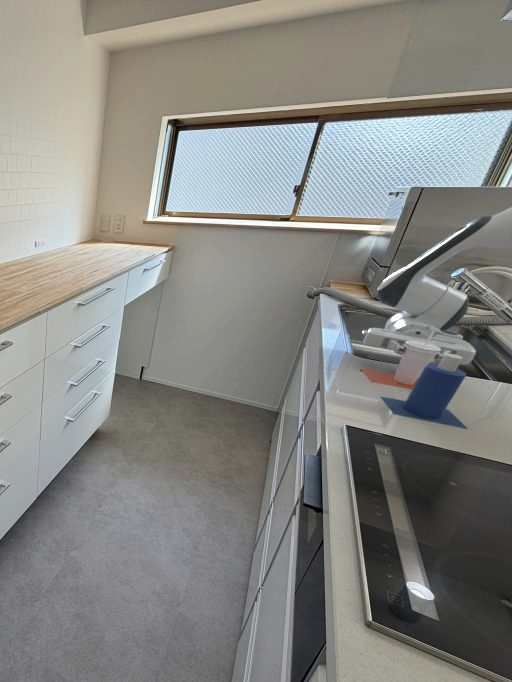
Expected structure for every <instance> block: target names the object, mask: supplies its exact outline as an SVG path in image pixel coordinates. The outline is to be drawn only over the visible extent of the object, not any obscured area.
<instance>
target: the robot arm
mask: <svg viewBox="0 0 512 682" xmlns="http://www.w3.org/2000/svg"><path fill="white" fill-rule="evenodd" d="M472 249H498V250H507V251H508V250H509V251H512V206H511V207H509V208H507V209H505V210H503V211H500V212H498V213H496V214H493V215H484V216H480V217H477V218H476V219H473V220H471V221H470V222H468V223H466V224H464V225H463V226H462V227H460V228H459V229H457V230H456V231H454V232H453V233H451V234H450V235H448V236H447V237H445V238H444V239H442V240H441V241H440V242H438V243H437V244H435V245H433V247H431V248H430V249H428V250H427V251H425V252H424V253H423V254H421V255H420V256H418V257H416V258H415V259H414V260H413V261H411V262H409V263H408V264H406V265H405V266H403V267H402V268H400V269H399V270H397V271H394V272H393V273H391V274H390V275H389V276H387V277H386V278H385V279H383V281H382V282H381V283H380V285H379V286H378V287H377V290H376V293H377V297H378V300H379V302H380V304H384V305H386V306H388V307H391V308H392V309H393V308H395V309H397V310H399V311H401V312H398V313H395V314H394V315H392V316H391V317H390V318H389V319H388V320H386V323H385V326H384V328H380V327H370V328H369V329H367V330H366V329H363V330H362V332H361V333H362V335H363V336H364V338H363V341H362V344H363V345H365V346H367V347H372V348H377V349H381V350H387V351H393V353H395V354H397V355H400V356H402V354H403V351H404V350H405V346H404V344H405V343H406V341H420V342H425V343H426V341H427V339H428V337H429V335H430V333H431V332H432V330H433V328H437V329H436V331H435V333H434V334H433V336H432V338H431V340H430V342H429V344H432V345H435V346H438V347H440V348H441V351H440V353H439V354H436V356H435V357H434V358H433V360H434V361H436V362H441V360H442V358H443V357H444V355H445V354H454V355H458V356H461V357H462V358H463V359H462V361H461V362H460V364H459V365H465V366H466V365H470V363H471V362H472V361H473V359H474V358H475V356H476V353H477V350H476V349H475V348H474V346H473V345H472V344H471V343H469V342H468V341H466V340H464V336H463V335H462V334H459V333H456V332H453V331H448V330H449V329H451V328H452V327H453V326H455V325H456V324H457V323H459V321H460V320H462V318H463V317H464V316H465V315H466V314H467V312H468V310H469V305H470V299H469V298H470V297H469V296H468V294H467V293H465V292H463V291H461V290H459V289H458V288H455V287H452V286H450V285H448V284H445V283H442V282H440V281H439V280H436V279H433V278H432V277H429V276H428V275H426V274H428V273H430V272H431V271H432V270H434V269H436V268H437V267H439V266H440V265H442V264H443V263H445V262H446V261H447V260H449V259H451V258H452V257H455V255H457V254H459V253H461V252H464V251H468V250H472Z"/></svg>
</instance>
